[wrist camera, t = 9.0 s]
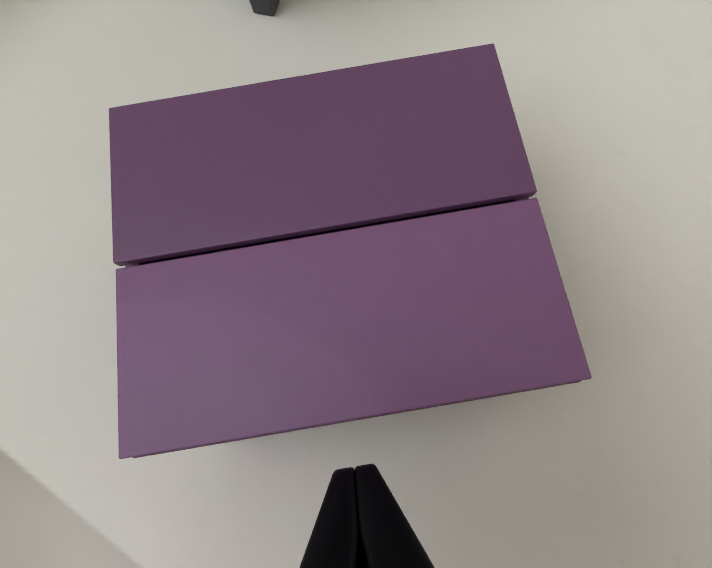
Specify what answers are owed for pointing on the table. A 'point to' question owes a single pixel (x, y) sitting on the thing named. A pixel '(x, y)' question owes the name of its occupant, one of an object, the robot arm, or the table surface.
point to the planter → (264, 6)
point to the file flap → (341, 328)
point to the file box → (314, 158)
